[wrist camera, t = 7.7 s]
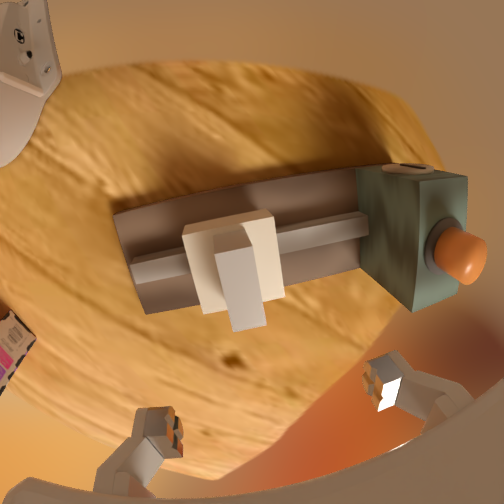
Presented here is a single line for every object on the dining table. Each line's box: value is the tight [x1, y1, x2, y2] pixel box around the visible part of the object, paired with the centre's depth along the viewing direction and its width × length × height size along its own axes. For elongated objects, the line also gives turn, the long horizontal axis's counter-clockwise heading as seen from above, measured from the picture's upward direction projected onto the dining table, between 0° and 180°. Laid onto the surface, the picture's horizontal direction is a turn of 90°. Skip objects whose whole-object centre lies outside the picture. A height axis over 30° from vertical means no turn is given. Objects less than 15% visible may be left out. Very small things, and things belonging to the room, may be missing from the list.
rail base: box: [113, 163, 468, 315], centre depth 23 cm, size 12×30×12 cm, turn 100°
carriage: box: [182, 209, 285, 332], centre depth 23 cm, size 7×7×9 cm
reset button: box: [434, 227, 487, 285], centre depth 17 cm, size 4×4×3 cm
